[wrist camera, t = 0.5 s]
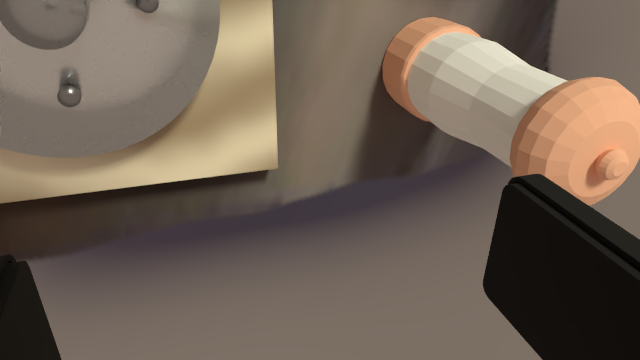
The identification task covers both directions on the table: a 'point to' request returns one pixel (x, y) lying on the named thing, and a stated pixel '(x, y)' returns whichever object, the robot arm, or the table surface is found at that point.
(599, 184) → the pepper shaker
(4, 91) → the flange
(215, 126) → the base board
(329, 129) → the table surface
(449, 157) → the table surface
